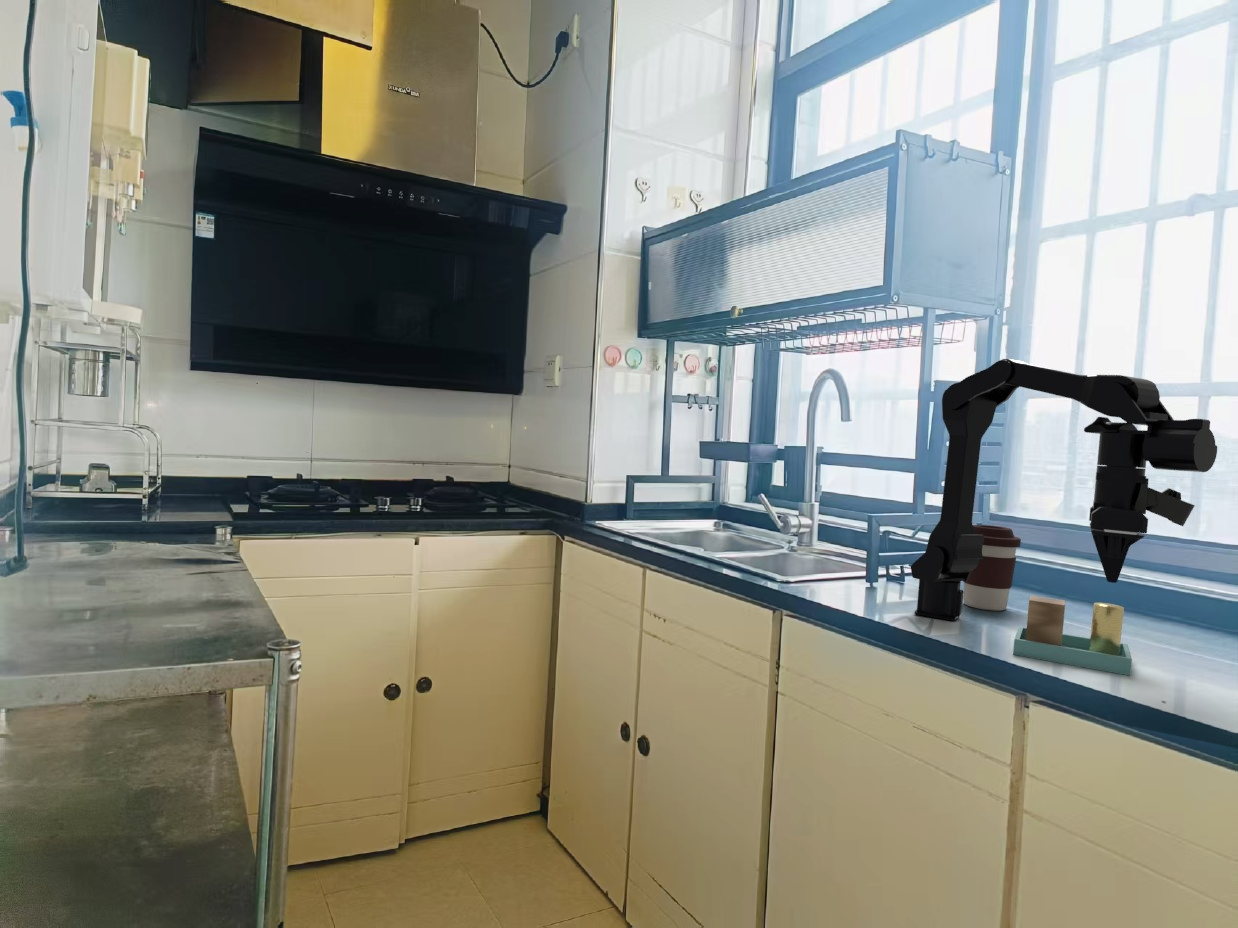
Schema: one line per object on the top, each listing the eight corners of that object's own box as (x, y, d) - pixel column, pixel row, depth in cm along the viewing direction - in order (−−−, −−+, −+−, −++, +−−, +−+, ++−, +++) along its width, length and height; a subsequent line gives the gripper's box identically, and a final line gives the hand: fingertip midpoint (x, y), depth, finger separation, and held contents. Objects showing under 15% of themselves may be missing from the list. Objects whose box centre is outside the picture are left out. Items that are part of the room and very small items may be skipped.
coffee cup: (964, 598, 152) (971, 522, 151) (1020, 608, 146) (1027, 528, 145) (949, 605, 144) (955, 524, 144) (1007, 615, 138) (1014, 531, 137)
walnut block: (1024, 648, 112) (1029, 600, 112) (1026, 641, 116) (1030, 595, 116) (1060, 654, 110) (1064, 605, 110) (1061, 647, 114) (1065, 600, 114)
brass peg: (1089, 658, 109) (1094, 605, 108) (1088, 652, 112) (1093, 601, 112) (1119, 663, 107) (1125, 609, 107) (1117, 658, 110) (1122, 605, 110)
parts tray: (1013, 654, 111) (1014, 639, 111) (1017, 640, 119) (1019, 626, 119) (1130, 675, 104) (1131, 659, 104) (1126, 659, 112) (1127, 644, 112)
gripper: (1201, 472, 96) (1189, 597, 97) (1184, 471, 112) (1173, 578, 113) (1096, 465, 102) (1085, 583, 102) (1093, 465, 118) (1084, 567, 119)
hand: (1110, 578), depth 109 cm, fingers open, 9 cm apart
